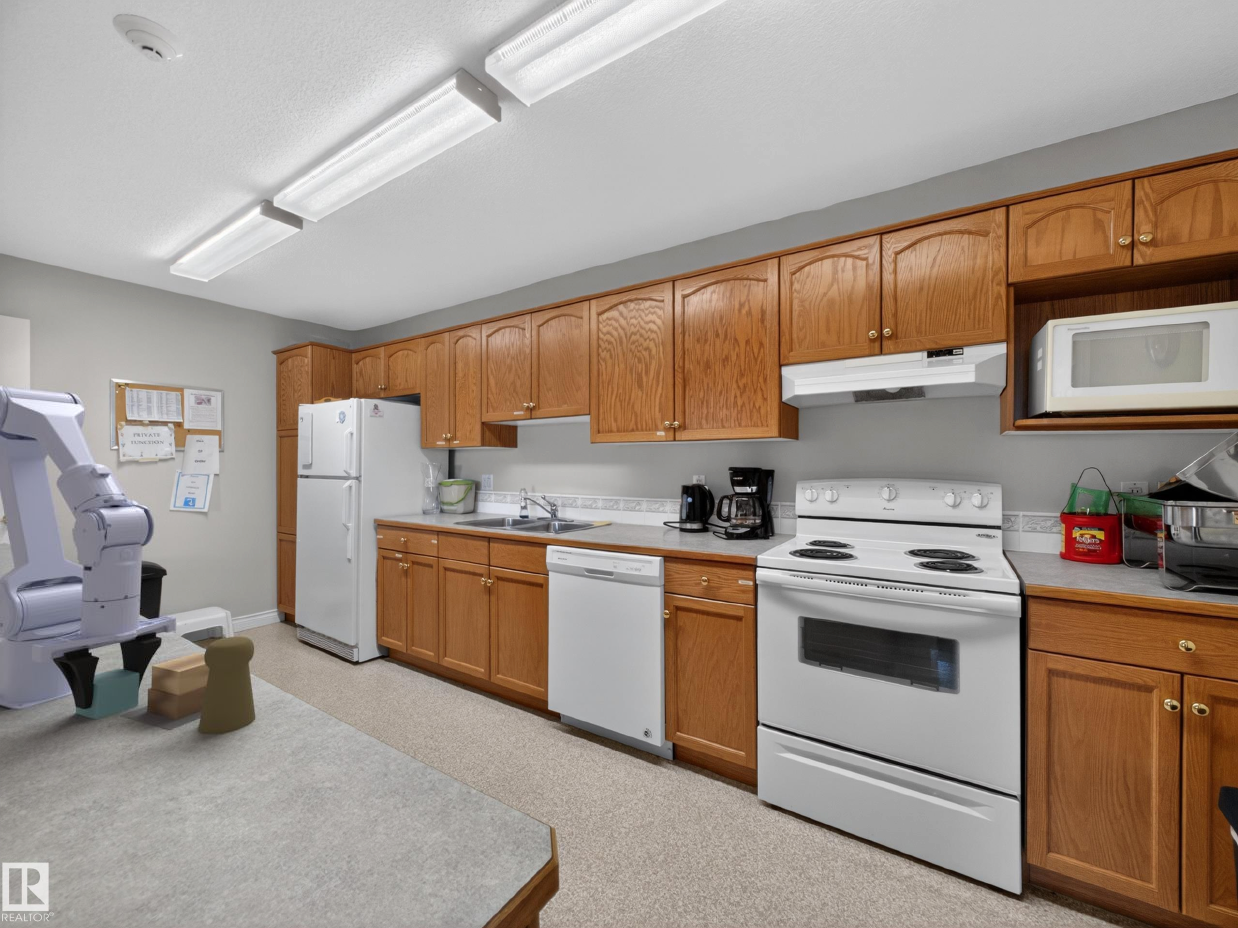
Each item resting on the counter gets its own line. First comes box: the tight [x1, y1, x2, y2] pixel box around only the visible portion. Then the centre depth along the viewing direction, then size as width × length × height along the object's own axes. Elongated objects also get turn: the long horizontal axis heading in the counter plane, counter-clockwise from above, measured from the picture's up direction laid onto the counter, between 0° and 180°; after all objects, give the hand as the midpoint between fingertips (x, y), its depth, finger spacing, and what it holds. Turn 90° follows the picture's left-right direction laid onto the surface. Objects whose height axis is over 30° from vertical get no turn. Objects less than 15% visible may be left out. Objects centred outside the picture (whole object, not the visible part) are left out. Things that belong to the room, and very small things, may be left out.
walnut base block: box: [146, 686, 206, 720], centre depth 73 cm, size 6×6×3 cm
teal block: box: [75, 667, 140, 720], centre depth 72 cm, size 4×4×4 cm
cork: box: [197, 636, 256, 735], centre depth 69 cm, size 6×6×11 cm
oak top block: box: [150, 652, 209, 695], centre depth 73 cm, size 6×6×3 cm
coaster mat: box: [119, 705, 202, 731], centre depth 73 cm, size 10×10×1 cm
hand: (107, 699), depth 72 cm, fingers closed on teal block, 4 cm apart
